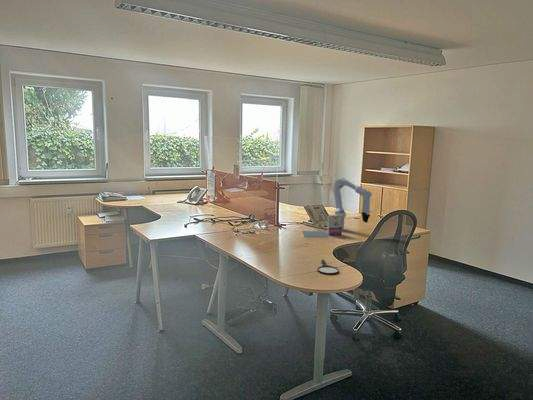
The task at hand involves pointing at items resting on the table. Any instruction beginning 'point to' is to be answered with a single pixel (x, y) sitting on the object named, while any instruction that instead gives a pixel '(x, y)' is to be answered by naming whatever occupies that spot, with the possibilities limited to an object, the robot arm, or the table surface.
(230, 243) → the table surface
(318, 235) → the mat
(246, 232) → the table surface
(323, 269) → the magnifying glass
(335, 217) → the candy bar box
